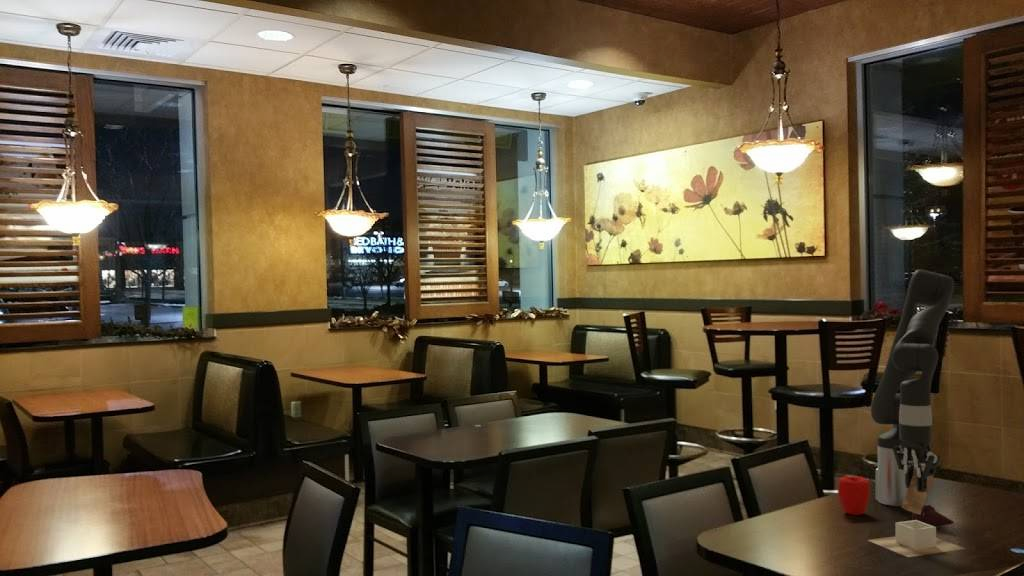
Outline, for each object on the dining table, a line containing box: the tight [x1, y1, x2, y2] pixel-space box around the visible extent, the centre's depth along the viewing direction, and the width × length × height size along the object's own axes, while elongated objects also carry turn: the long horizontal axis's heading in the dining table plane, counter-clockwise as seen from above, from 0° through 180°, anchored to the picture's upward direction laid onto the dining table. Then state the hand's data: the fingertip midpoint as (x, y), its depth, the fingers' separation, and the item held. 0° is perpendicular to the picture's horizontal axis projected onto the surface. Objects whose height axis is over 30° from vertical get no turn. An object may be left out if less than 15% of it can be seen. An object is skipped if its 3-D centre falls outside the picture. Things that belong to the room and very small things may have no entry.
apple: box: [837, 475, 871, 516], centre depth 246 cm, size 9×9×11 cm
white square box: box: [894, 520, 937, 550], centre depth 215 cm, size 7×7×5 cm
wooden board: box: [867, 536, 966, 558], centre depth 215 cm, size 14×18×1 cm
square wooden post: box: [900, 468, 937, 515], centre depth 215 cm, size 3×3×12 cm
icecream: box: [901, 504, 954, 528], centre depth 230 cm, size 7×7×15 cm
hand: (915, 489), depth 215 cm, fingers closed on square wooden post, 3 cm apart
